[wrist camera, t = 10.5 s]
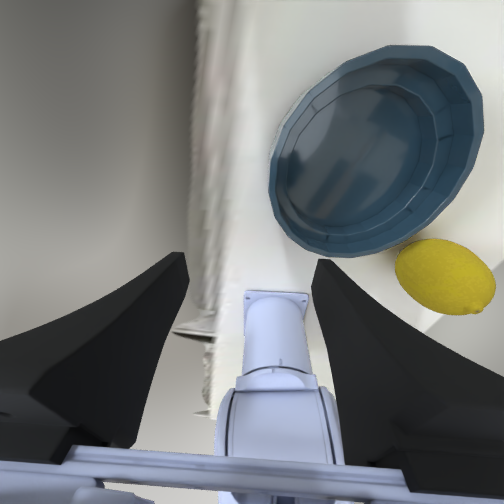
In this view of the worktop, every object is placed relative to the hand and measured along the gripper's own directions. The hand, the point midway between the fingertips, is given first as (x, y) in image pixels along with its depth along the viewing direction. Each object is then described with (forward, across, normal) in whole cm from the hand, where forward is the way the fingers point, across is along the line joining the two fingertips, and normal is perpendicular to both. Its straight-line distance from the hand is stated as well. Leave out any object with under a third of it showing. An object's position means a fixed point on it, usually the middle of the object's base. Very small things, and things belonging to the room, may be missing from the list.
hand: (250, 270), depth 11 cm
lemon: (+10, -16, +4) cm, 19 cm away
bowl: (+9, -7, -4) cm, 12 cm away
